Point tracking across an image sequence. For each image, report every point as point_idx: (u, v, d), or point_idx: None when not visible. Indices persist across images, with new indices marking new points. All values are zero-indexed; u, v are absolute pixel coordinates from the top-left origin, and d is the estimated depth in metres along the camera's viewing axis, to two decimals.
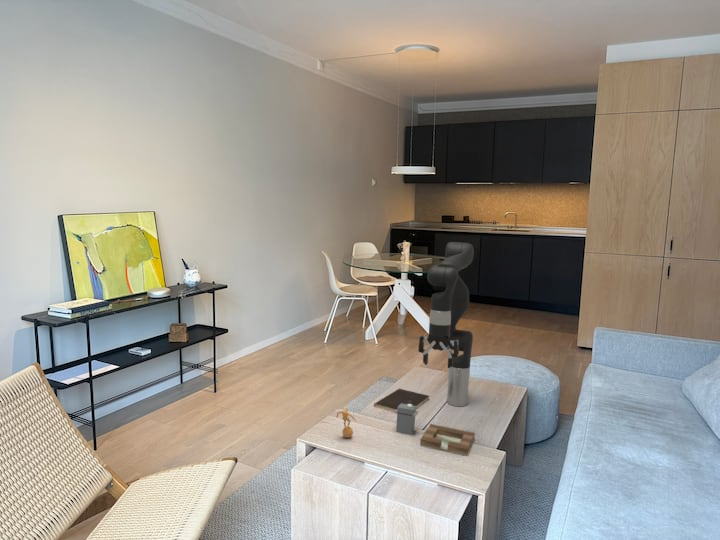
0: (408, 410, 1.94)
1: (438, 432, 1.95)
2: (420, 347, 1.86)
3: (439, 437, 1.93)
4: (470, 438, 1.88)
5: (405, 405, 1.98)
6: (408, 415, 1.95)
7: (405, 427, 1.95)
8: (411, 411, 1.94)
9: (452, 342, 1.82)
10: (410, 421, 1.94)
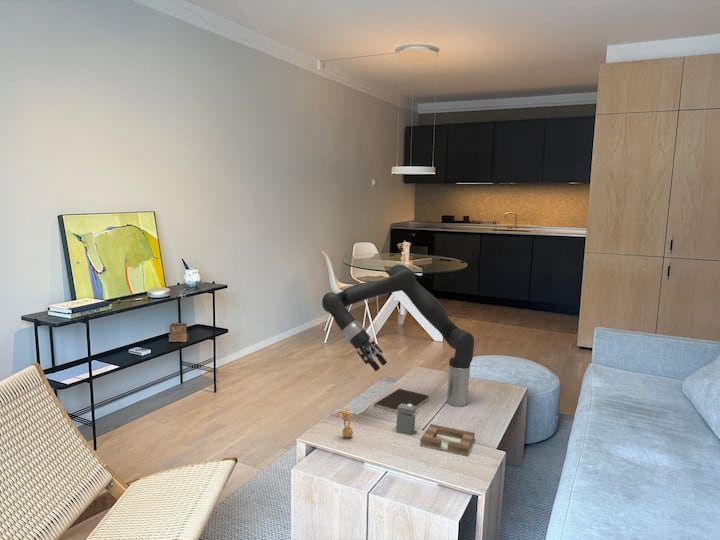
0: (408, 410, 1.94)
1: (438, 432, 1.95)
2: None
3: (439, 437, 1.93)
4: (470, 438, 1.88)
5: (405, 405, 1.98)
6: (408, 415, 1.95)
7: (405, 427, 1.95)
8: (411, 411, 1.94)
9: None
10: (410, 421, 1.94)
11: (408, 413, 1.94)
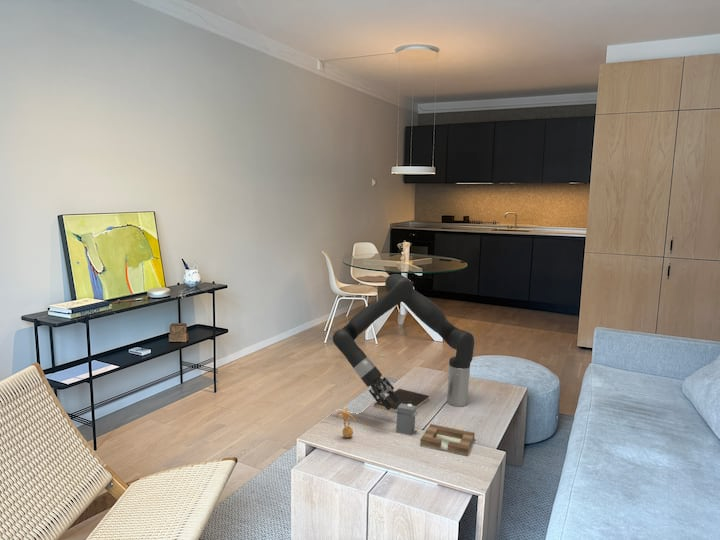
0: (408, 410, 1.94)
1: (438, 432, 1.95)
2: None
3: (439, 437, 1.93)
4: (470, 438, 1.88)
5: (405, 405, 1.98)
6: (408, 415, 1.95)
7: (405, 427, 1.95)
8: (411, 411, 1.94)
9: None
10: (410, 421, 1.94)
11: (408, 413, 1.94)
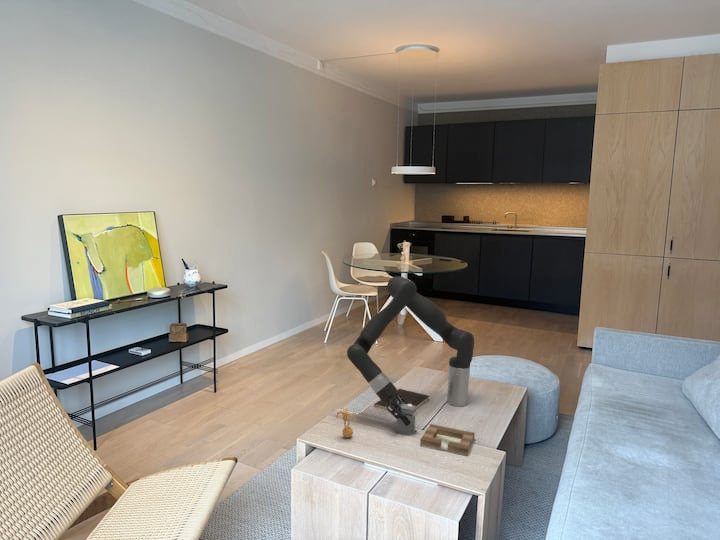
0: (408, 410, 1.94)
1: (438, 432, 1.95)
2: None
3: (439, 437, 1.93)
4: (470, 438, 1.88)
5: (405, 405, 1.98)
6: (408, 415, 1.95)
7: (405, 427, 1.95)
8: (411, 411, 1.94)
9: None
10: (410, 421, 1.94)
11: (408, 413, 1.94)
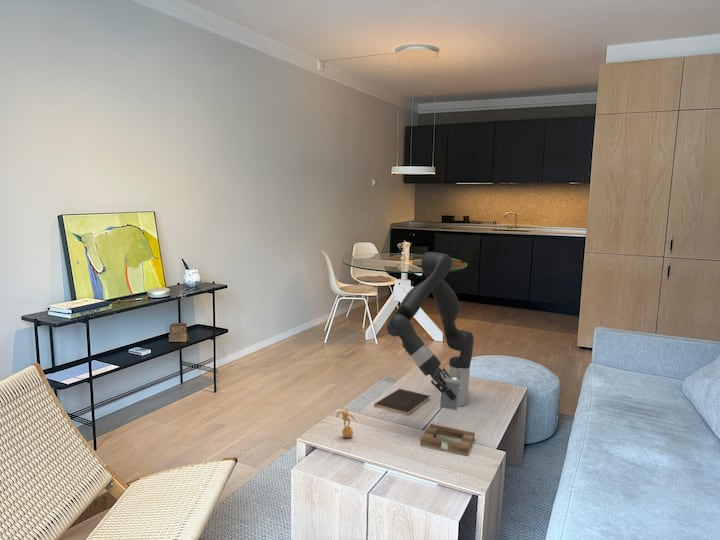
0: (453, 384, 1.85)
1: (438, 432, 1.95)
2: None
3: (439, 437, 1.93)
4: (470, 438, 1.88)
5: (449, 379, 1.88)
6: (453, 389, 1.85)
7: (450, 402, 1.86)
8: (457, 385, 1.84)
9: None
10: (455, 395, 1.85)
11: (453, 387, 1.85)
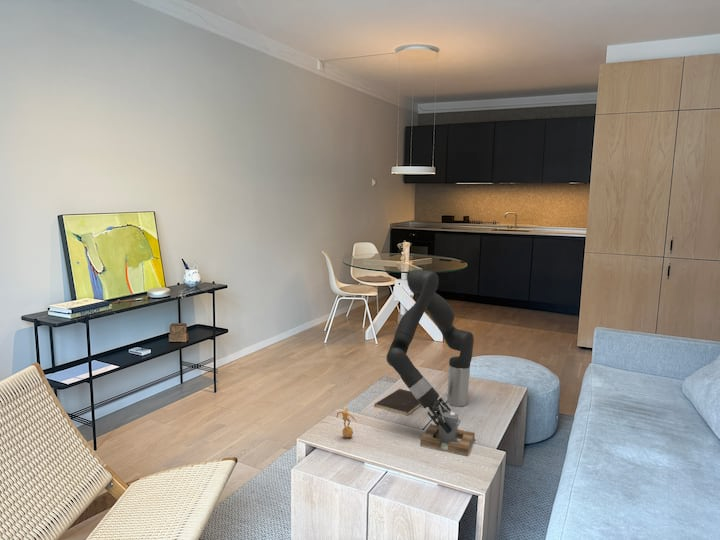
0: (451, 419, 1.86)
1: (438, 432, 1.95)
2: None
3: None
4: (470, 438, 1.88)
5: (447, 413, 1.90)
6: (451, 424, 1.86)
7: (448, 437, 1.87)
8: (454, 420, 1.86)
9: None
10: (453, 430, 1.86)
11: (451, 422, 1.86)
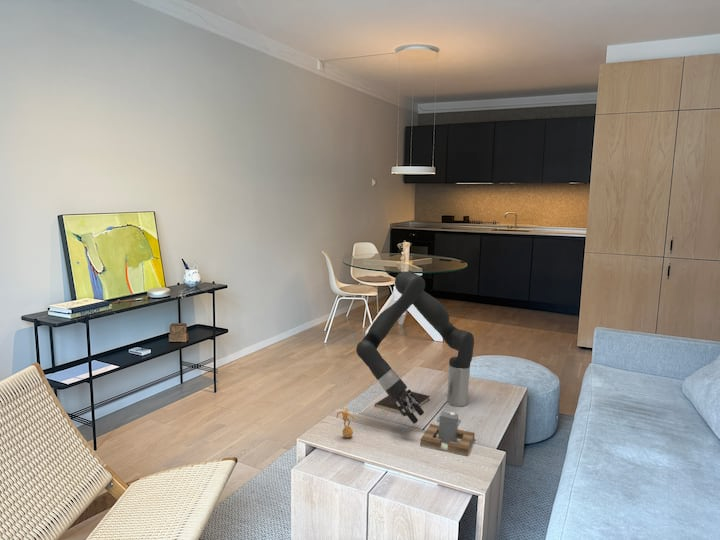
0: (451, 419, 1.86)
1: (438, 432, 1.95)
2: None
3: None
4: (470, 438, 1.88)
5: (447, 413, 1.90)
6: (451, 424, 1.86)
7: (448, 437, 1.87)
8: (454, 420, 1.86)
9: None
10: (453, 430, 1.86)
11: (451, 422, 1.86)
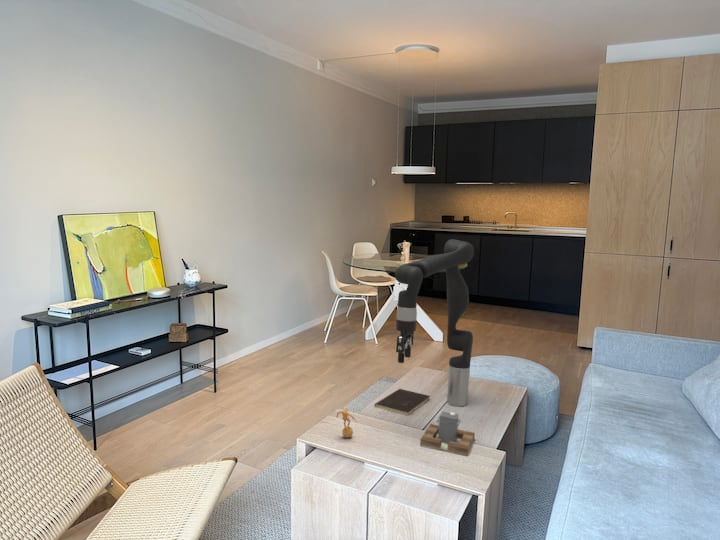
0: (451, 419, 1.86)
1: (438, 432, 1.95)
2: None
3: None
4: (470, 438, 1.88)
5: (447, 413, 1.90)
6: (451, 424, 1.86)
7: (448, 437, 1.87)
8: (454, 420, 1.86)
9: None
10: (453, 430, 1.86)
11: (451, 422, 1.86)
